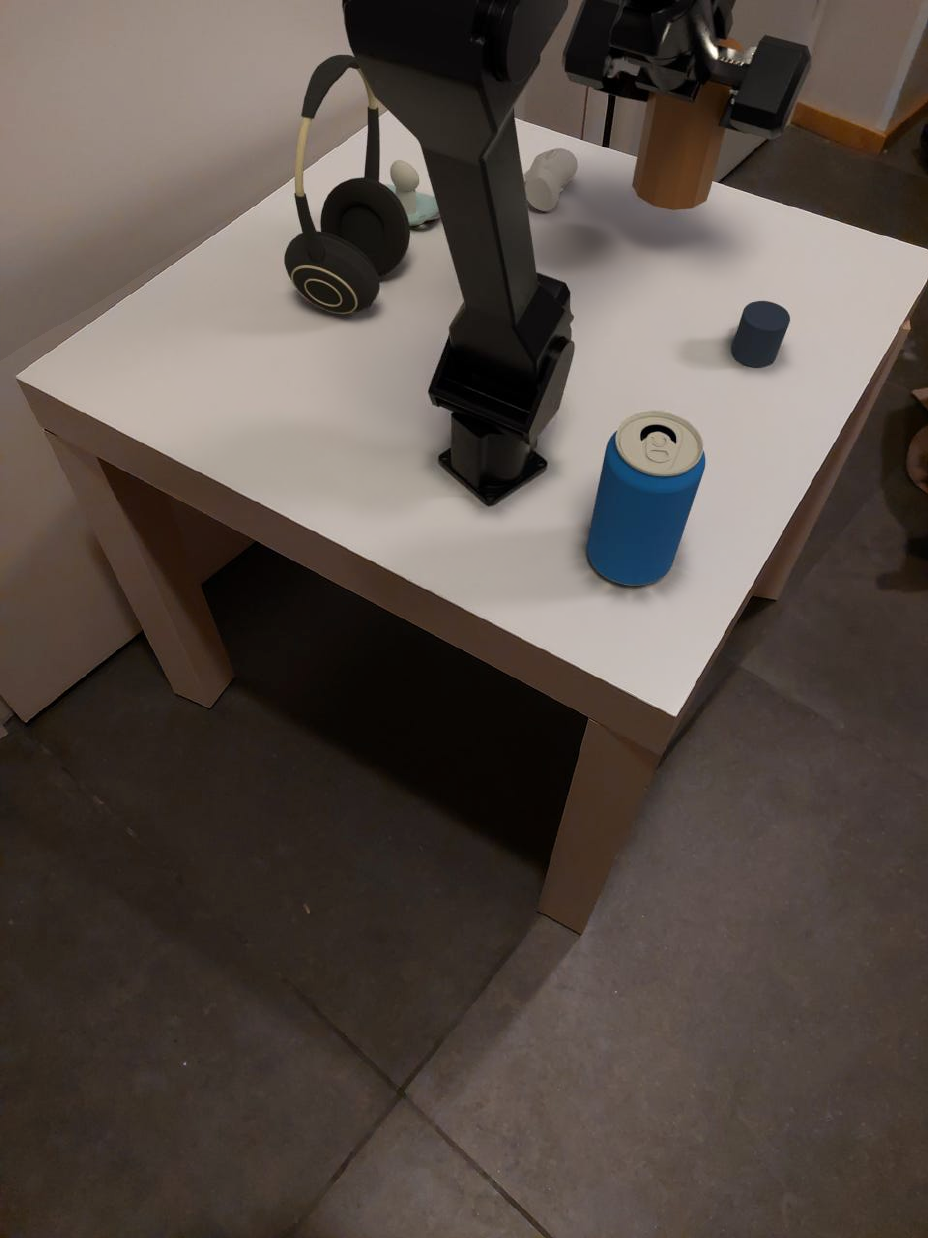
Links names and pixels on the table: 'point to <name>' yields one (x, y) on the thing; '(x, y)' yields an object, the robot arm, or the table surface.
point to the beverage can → (644, 497)
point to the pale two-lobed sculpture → (549, 177)
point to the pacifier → (412, 194)
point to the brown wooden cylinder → (681, 145)
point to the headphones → (345, 217)
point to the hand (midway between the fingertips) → (692, 108)
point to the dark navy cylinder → (760, 333)
